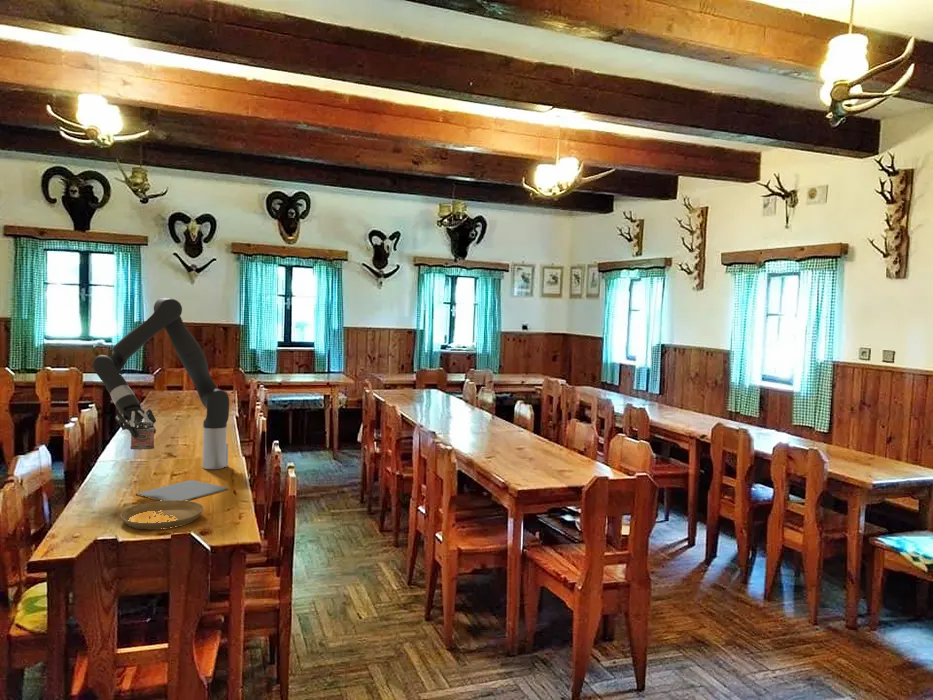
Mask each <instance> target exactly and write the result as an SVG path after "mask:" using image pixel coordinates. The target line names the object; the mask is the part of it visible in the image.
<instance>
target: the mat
mask: <svg viewBox="0 0 933 700" xmlns="http://www.w3.org/2000/svg"><path fill="white" fill-rule="evenodd" d="M227 489H228V490H229V487H225V486H221V485H217V484H211V483H207V482H204V481H203V482H202V481H198V480H193V479H189V480H185V481H181V482H177V483H173V484H172V483H171V484H169V485H165V486H161V487H160V486H159V487H156V488H153V489H149V490H144V491H140V492H136V493H135V495H136V494H139V495H143V496H147V497H150V498H154V499H158V500H162V501H167V500H183V501H185V500H188V501H191V500H190V499H192V500H195V499H194V498H196V499H199V498H203V497H206V496H205V495H207V496H209V494H210V495H214V494H217V492H218V493H220V491H221V492H224V490H225V491H227ZM213 493H214V494H213ZM202 496H203V497H202ZM198 497H199V498H198ZM150 498H149V499H150ZM154 499H153V500H154ZM158 500H157V501H158Z"/></svg>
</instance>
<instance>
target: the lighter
mask: <svg viewBox="0 0 933 700" xmlns="http://www.w3.org/2000/svg"><path fill="white" fill-rule="evenodd" d="M152 425H153V423H152V422H147V421H146V422H143V420H142V421H141V422H136V423H134V426H133V427H135V428H136V430H137V432H138V433H139V436H138V437H137V438H134V437H133V436H132V435H131V434H130V450H154V449H155V434H154V430H155V429H156V428H155V427H154V428H149V426H152ZM153 426H154V425H153Z"/></svg>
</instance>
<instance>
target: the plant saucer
mask: <svg viewBox="0 0 933 700" xmlns="http://www.w3.org/2000/svg"><path fill="white" fill-rule="evenodd" d="M160 510H162V511H161V512H163V513H164V514H163V513H162V514H163V515H164V516H165V515H168V516H169V518H172V517H173V516H175V517H176V518H177V519H178V520H176V521H170V522H168V521H169V520H167V522H161V523H158V522H159V521H158V522H156V523H148V522H147V523H138V522H131V521H128V520H129V518H130V517H132V516H134V515H136V514H139V513H143V512H147V511H155V512H156V514H159V513H161V512H158V511H160ZM203 511H204V506H203V505H202V504H200V503H198V502H195V501H192V500H188V501H183V500H167V501H158V500H155V501H150V502H144V503H141V504H140V503H139V504H137V505H133V506H130V507H128V508H127V509H125V510H123V511H122V512H121V513H120V519H121V520H122V521H123V522H124V524H126V525H127V526H129V527H131V526H132V527H131V528H133V527H135V528H134V529H137V528H141V529H140V530H143V529H161V528H162V530H164V529H163V528H170V527H175V526H180V525H183V526H185V525H184V524H186V525H188V524H187V523H189V524H191V523H192V522H194V521H195V520H196V519H198V518H199V517H200V516H201V514H202V513H203ZM153 513H154V512H153ZM162 514H160V515H162ZM170 515H173V516H170ZM154 517H156V515H155V516H154ZM150 518H151V517H150V516H149V519H150ZM176 518H174V519H176ZM190 522H191V523H190ZM180 527H181V526H180ZM170 529H171V528H170Z"/></svg>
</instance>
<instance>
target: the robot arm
mask: <svg viewBox="0 0 933 700" xmlns="http://www.w3.org/2000/svg"><path fill="white" fill-rule="evenodd" d="M182 312H183V306H182V303H180V302H179V300H176V299H174V298H169V297H160V298H158V299H157V300H156V301H155V303H154V304H153V313H152V314H151V315H150V317H148V318H147V319H146V320H145V321H144V322H143V323H141V324H139V325H138V326H137V327H136V328H134V329H132V330H131V331H129V332H128V333H126V334H125V335H124V336H123V337H122V338H121V339H120V340H119V341H118V342H117V343H116V344H114V346H113V348H112V351H113V353H112V354H111V356H108V355H105V354H99V355H97V356H95V357H94V358H93V361H92V369H93V371H94V372H95V374H96V375H97V376H98V378H100V381H101V382H102V383H103V384H104V386H105V388H106V391H107V392H108V393H109V395H110V398H111V400H112V402H113V403H114V405H115V407H116V409H117V411H118V413H117V415H116V416H115V417H114V420H115V421H116V422H117V423H118V425H119V426H120V428H121V429H122V430H123V431H125V430H127V431H128V432H129V433H130V436H131V435H132V436H133V437H134V438H137V437H138V436H139V433H138V432H137V430H136V428H135V426H134V423H136V422H141V421H143V422H152V423H153V425H152V426H149V428H155V426H154V424H155V423H156V422H157V420H156V418H155V415H154V414H153V411H152V410H151V409H148V410H144V409H142V406H141V403H140V401H139V400H138V398H137V396H136V395H135V393H134V391H133V389H132V388H130V386H129V384H128V382H127V381H126V379H125V377H123V375H121V373H120V372H121V371H122V369H123V368H124V366H125V365H126V363H127V362H128V360H129V359H130V358H131V357H132V356H133V355H134V354H135V353H137V352H138V351H139V350H140V349H141V348H142V347H143V346H144V345H145V344H146V343H147V342H148V341H149V340H150V339H152V338H153V337H154V336H155V335H156V334H158V333H159V332H160V331H162V330H163V329H164V330H165V331H166V332H167V333H166V334H167V335H168V337H169V339H170V341H171V344H172V347H173V348H174V350H175V352H176V354H177V356H178V358H179V361H180V362H181V365H182V366H183V368H184V369H185V371H186V373H187V375H188V376H189V377H190V379H191V380H192V383H193V385H194V387H195V389H196V391H197V394H198V397H199V399H200V402H201V404H202V405H203V406H204V407H205V408H206V416H205V417H206V418H205V419H204V420H203V424H202V426H203V428H202V429H203V430H202V431H203V432H202V434H203V435H202V437H203V438H202V468H203V469H205V470H220V469H224V467H225V468H227V467H228V466H229V443H227V433H228V431H227V429H228V428H227V423H228V421H229V415H230V397H229V395H228V393H227V392H226V391H225V390H222V389H220V388H218V387H217V385H216V384H215V382H214V380H213V378H212V377H211V374H210V371H209V365H208V361H207V360H208V359H207V358H206V355H205V353H204V351H203V349H202V347H201V345H200V344H199V342H198V341H197V339H196V338H195V337H194V336H193V334H192V333H191V332H190V331H189V330H188V328H187V326H186V325H185V324H184V323H185V322H183V319H182V317H181V315H182ZM156 433H157V429H156V428H155V430H154V435H155V434H156Z"/></svg>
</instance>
